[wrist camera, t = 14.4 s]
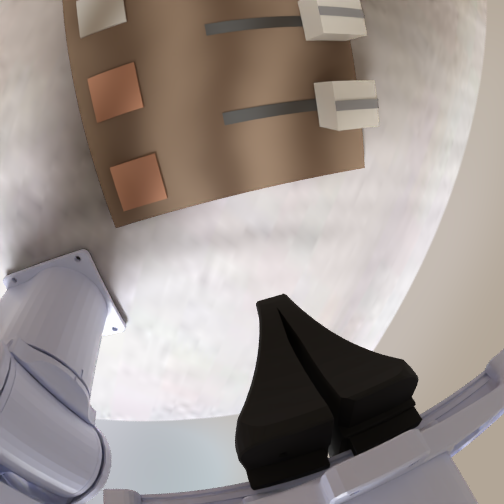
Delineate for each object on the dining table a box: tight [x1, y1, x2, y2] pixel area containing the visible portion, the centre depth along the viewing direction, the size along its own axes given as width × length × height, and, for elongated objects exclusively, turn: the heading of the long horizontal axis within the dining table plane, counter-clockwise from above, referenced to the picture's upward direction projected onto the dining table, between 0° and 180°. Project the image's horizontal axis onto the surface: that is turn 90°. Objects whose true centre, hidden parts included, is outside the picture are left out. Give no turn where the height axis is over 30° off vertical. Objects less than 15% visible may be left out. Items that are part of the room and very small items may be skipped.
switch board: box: [63, 0, 365, 228], centre depth 14 cm, size 18×20×1 cm
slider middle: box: [298, 0, 367, 41], centre depth 13 cm, size 3×3×3 cm
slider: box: [314, 80, 379, 131], centre depth 16 cm, size 3×3×3 cm
